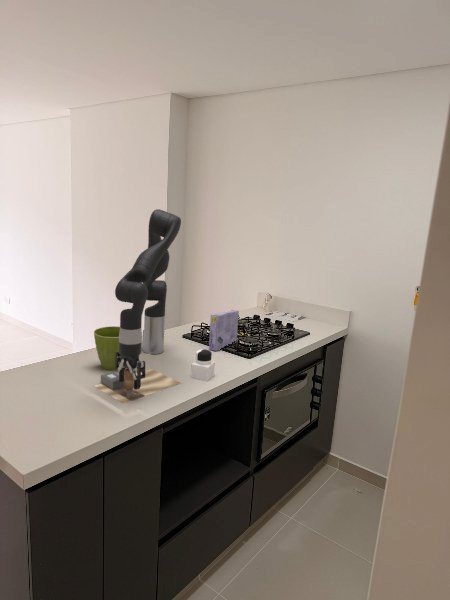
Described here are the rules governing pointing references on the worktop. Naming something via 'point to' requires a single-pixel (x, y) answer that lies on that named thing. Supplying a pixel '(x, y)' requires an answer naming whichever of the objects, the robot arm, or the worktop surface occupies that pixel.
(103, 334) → the flower pot
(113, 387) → the block
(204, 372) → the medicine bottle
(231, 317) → the cake pan box
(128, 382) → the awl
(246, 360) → the worktop surface
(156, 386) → the subfloor panel
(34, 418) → the worktop surface
